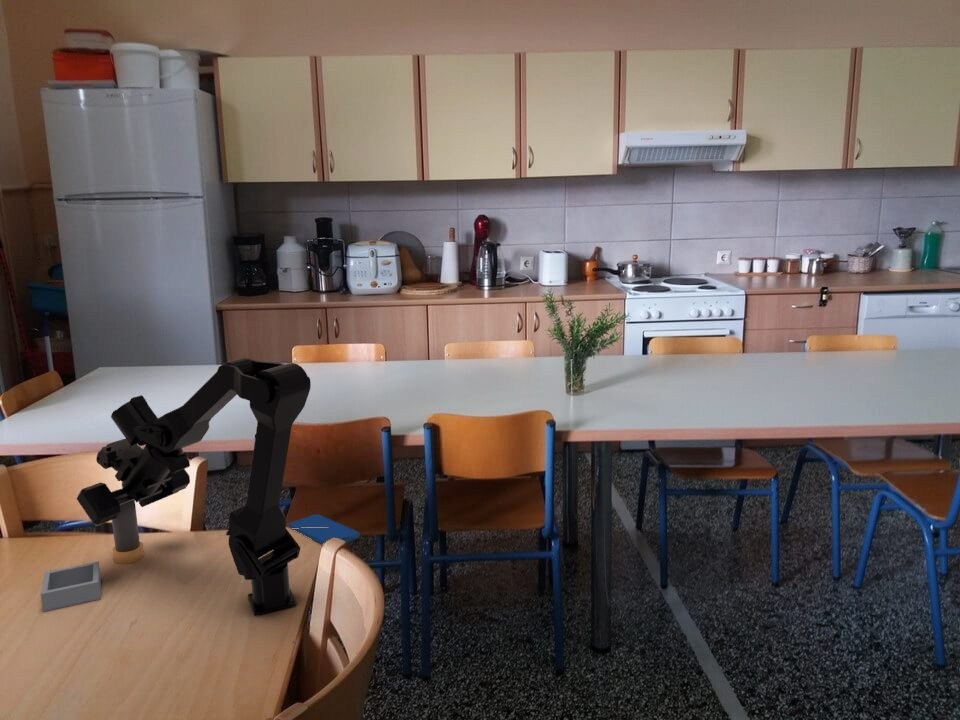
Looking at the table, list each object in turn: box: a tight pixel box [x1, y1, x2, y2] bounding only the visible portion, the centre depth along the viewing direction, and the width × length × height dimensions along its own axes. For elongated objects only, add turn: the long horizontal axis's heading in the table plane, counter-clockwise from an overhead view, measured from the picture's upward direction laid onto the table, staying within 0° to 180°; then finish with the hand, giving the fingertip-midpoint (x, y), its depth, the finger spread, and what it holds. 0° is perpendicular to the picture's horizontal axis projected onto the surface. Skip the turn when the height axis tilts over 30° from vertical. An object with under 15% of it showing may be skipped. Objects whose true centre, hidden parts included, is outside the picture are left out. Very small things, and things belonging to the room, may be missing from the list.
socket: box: [40, 560, 102, 612], centre depth 121 cm, size 8×8×3 cm
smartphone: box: [287, 513, 361, 546], centre depth 143 cm, size 7×1×15 cm
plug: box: [111, 488, 145, 565], centre depth 132 cm, size 5×5×12 cm
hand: (118, 514), depth 132 cm, fingers open, 9 cm apart
